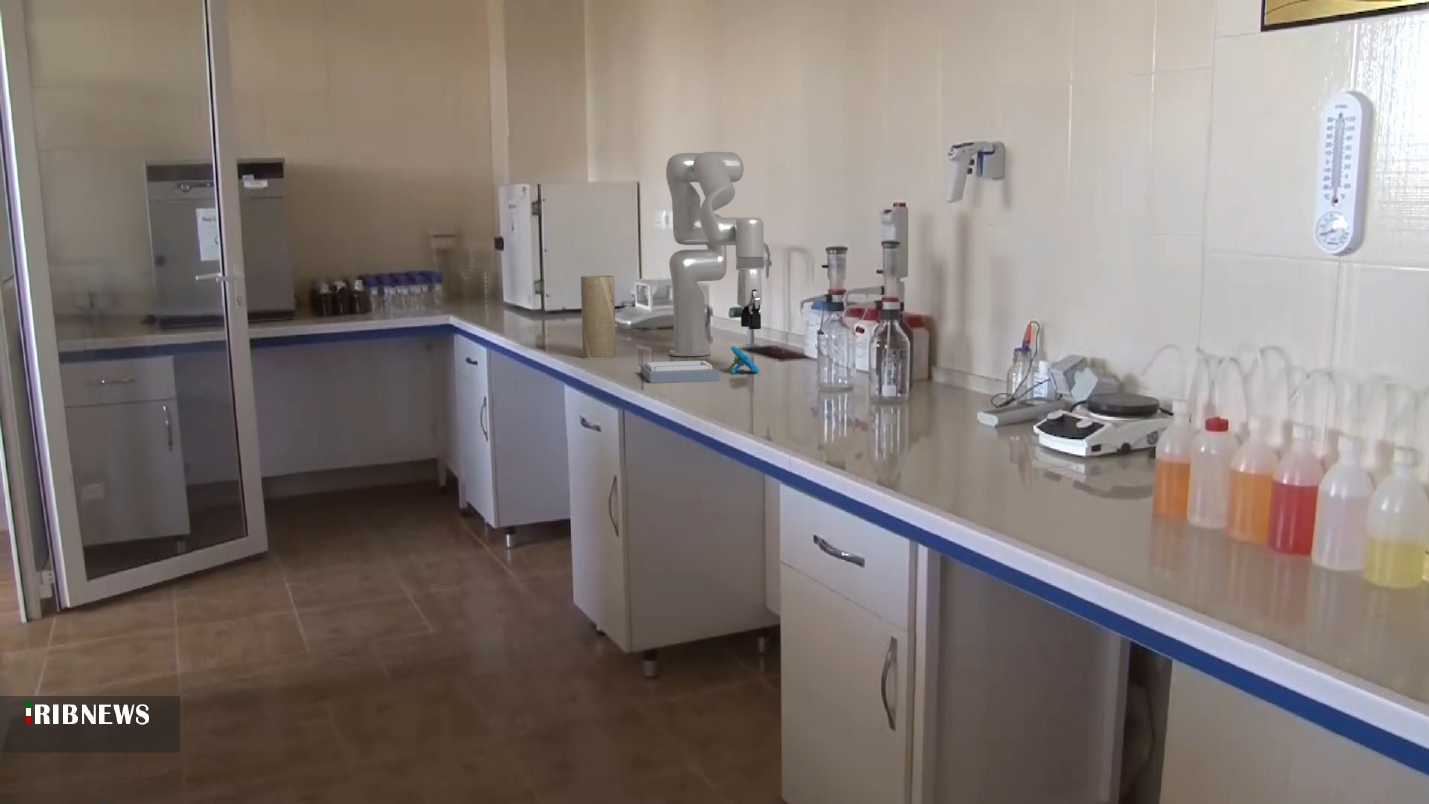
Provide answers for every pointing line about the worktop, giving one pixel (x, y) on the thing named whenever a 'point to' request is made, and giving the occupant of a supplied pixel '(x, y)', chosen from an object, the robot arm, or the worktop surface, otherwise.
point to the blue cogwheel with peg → (741, 361)
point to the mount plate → (679, 371)
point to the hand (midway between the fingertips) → (750, 327)
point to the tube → (598, 316)
